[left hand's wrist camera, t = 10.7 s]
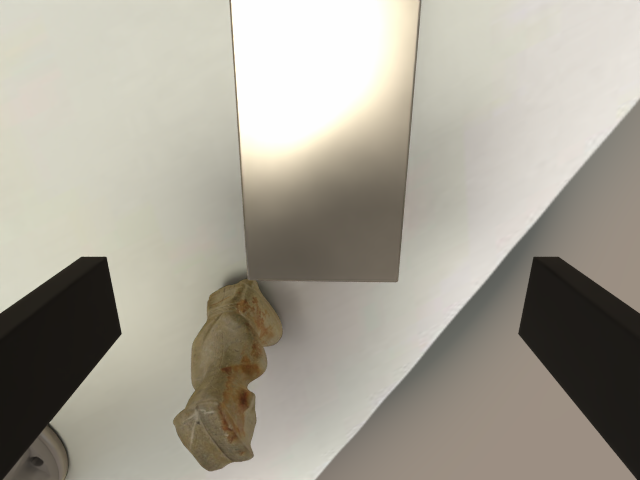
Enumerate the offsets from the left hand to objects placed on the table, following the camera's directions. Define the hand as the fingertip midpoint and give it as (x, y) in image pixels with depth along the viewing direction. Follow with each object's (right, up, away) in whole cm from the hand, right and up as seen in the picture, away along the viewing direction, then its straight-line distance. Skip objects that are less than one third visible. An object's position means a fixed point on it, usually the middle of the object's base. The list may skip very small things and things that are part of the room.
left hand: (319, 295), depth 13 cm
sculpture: (-6, -4, +25) cm, 26 cm away
